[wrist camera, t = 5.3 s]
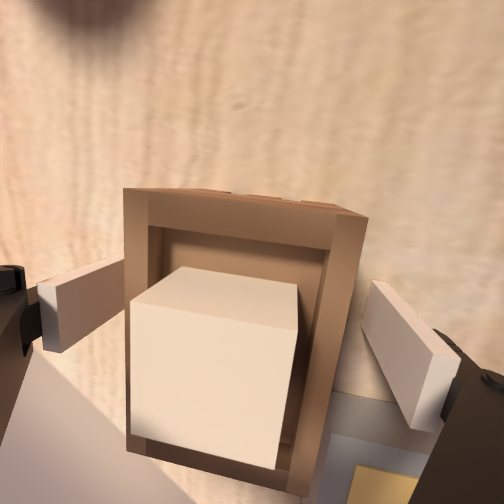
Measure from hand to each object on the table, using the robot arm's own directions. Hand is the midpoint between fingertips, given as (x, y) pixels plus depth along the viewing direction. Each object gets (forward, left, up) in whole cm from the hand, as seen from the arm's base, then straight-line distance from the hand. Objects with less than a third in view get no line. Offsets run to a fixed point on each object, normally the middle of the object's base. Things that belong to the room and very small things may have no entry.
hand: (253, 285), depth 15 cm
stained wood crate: (0, 0, 0) cm, 0 cm away
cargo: (0, 0, +6) cm, 6 cm away
